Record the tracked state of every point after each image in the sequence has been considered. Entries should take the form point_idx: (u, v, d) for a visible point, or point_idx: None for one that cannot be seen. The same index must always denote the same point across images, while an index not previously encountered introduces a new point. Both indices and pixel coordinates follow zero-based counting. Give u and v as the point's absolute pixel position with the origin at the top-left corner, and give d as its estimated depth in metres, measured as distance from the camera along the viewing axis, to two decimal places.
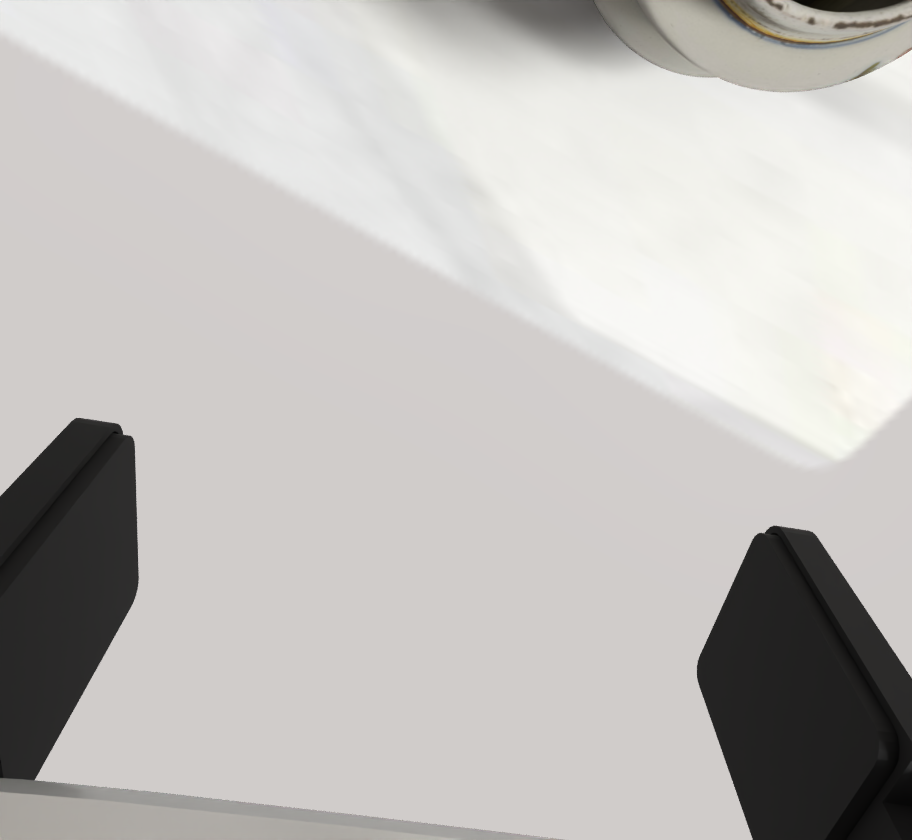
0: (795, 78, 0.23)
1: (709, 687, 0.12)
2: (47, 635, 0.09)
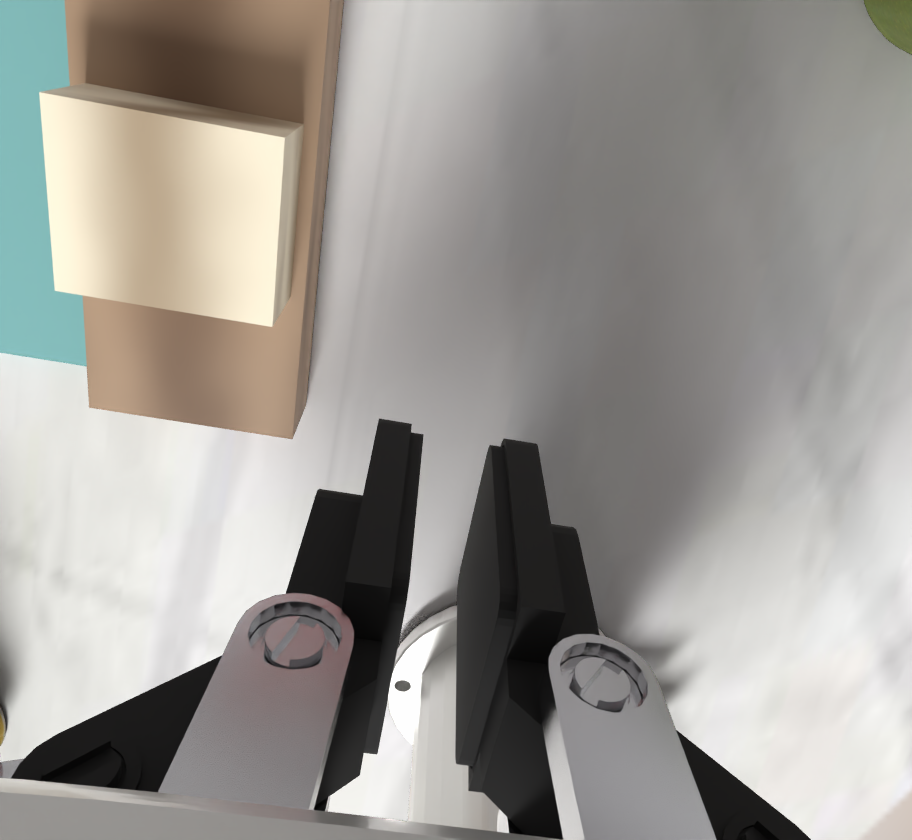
0: None
1: (459, 595, 0.13)
2: None
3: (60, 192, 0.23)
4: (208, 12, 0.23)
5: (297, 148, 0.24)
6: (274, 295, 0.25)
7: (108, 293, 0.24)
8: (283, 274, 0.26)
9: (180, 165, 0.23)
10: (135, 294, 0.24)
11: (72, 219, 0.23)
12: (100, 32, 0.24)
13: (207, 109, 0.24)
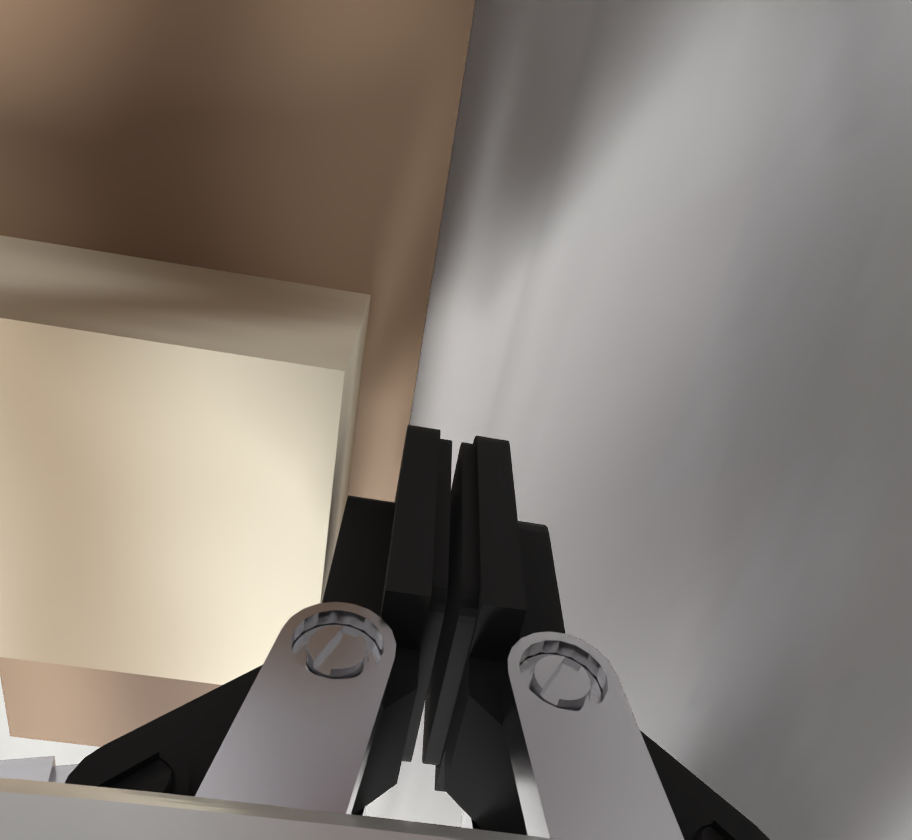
0: None
1: None
2: None
3: None
4: (206, 88, 0.11)
5: (360, 349, 0.12)
6: None
7: None
8: None
9: (112, 424, 0.10)
10: (35, 645, 0.12)
11: None
12: None
13: (176, 277, 0.12)
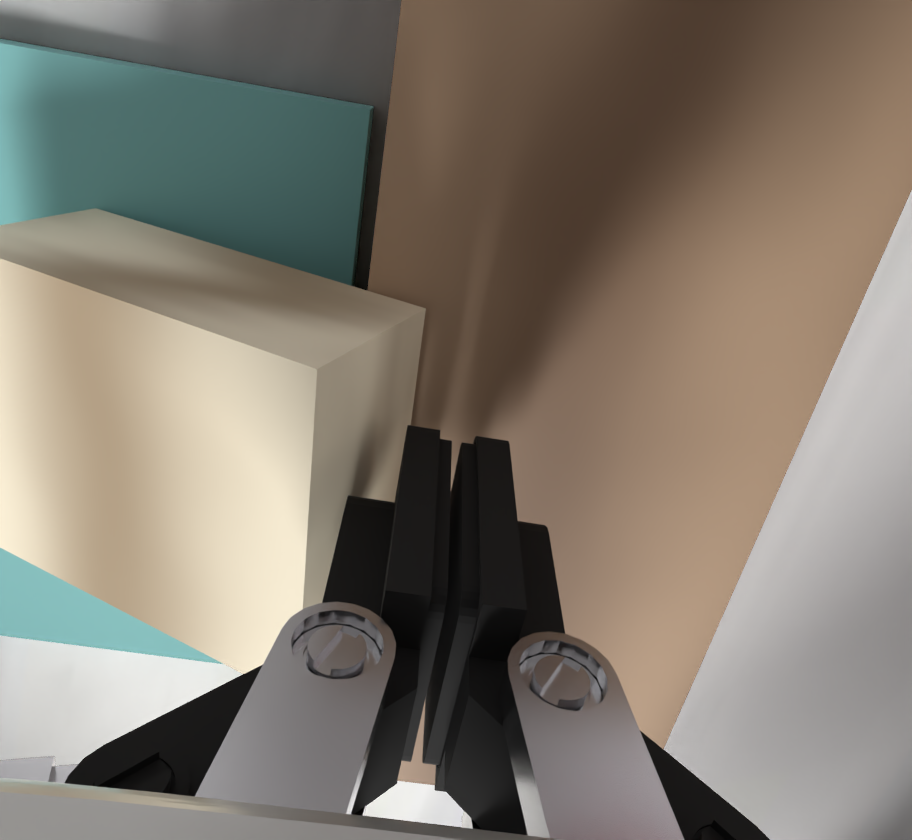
0: None
1: None
2: None
3: None
4: (673, 171, 0.11)
5: (397, 361, 0.12)
6: None
7: (58, 569, 0.14)
8: None
9: (139, 390, 0.11)
10: (93, 581, 0.14)
11: (3, 448, 0.13)
12: (445, 209, 0.12)
13: (249, 270, 0.12)
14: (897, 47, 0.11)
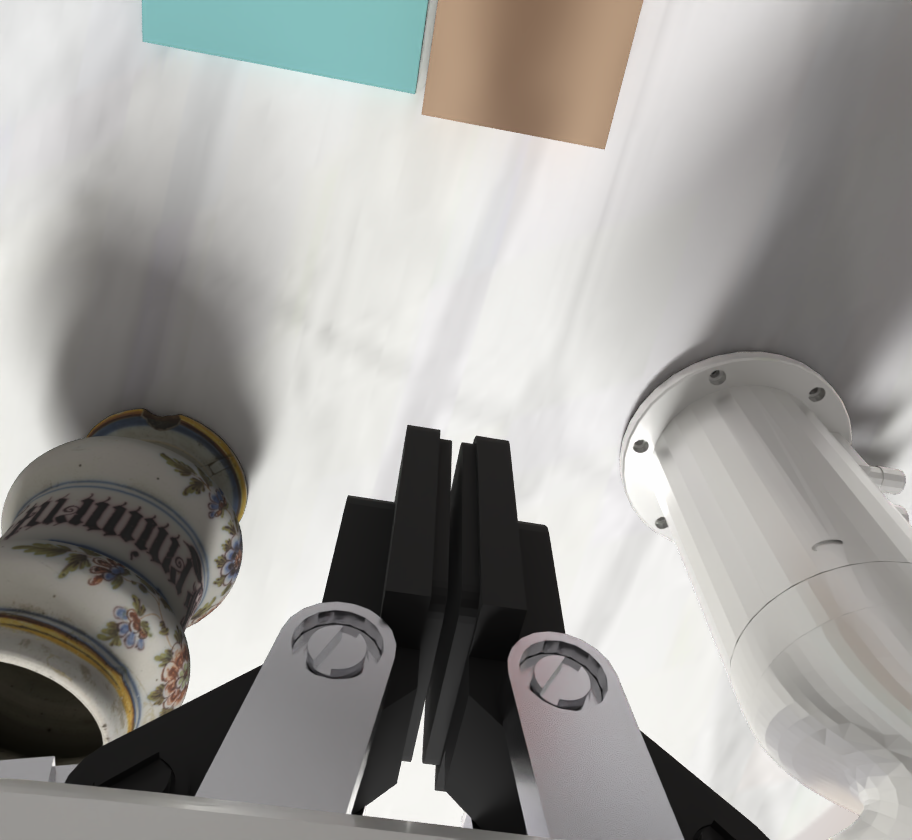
0: None
1: None
2: None
3: None
4: None
5: None
6: None
7: None
8: None
9: None
10: None
11: None
12: None
13: None
14: None
